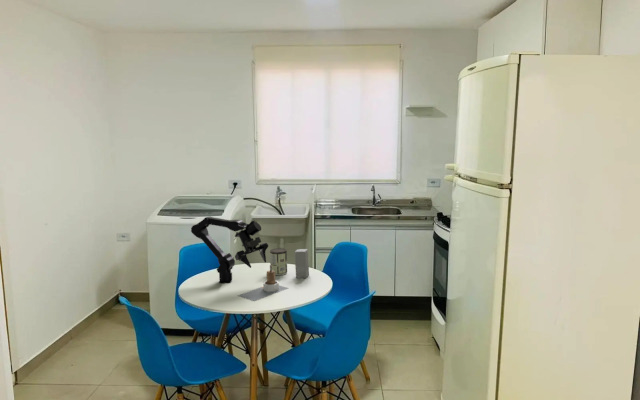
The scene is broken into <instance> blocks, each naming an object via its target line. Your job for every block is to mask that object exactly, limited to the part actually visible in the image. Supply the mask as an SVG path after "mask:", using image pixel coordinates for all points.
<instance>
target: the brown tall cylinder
mask: <svg viewBox="0 0 640 400" xmlns="http://www.w3.org/2000/svg"><path fill="white" fill-rule="evenodd" d="M266 281H267V284H268V285H274V284H275V281H276V275H275V271H272V265H269V270H267V271H266Z"/></svg>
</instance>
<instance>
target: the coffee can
mask: <svg viewBox="0 0 640 400" xmlns="http://www.w3.org/2000/svg"><path fill="white" fill-rule="evenodd" d="M287 251H288V249H286V248H282V247H281V248H280V247H279V248H272V249H269V259H270V260H269V263H270V265H272V271H275V276H283V275H286V274H288V258H287V255H288V253H287ZM270 265H269V266H270Z"/></svg>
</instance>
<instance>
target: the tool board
mask: <svg viewBox="0 0 640 400" xmlns="http://www.w3.org/2000/svg"><path fill="white" fill-rule="evenodd" d="M279 283H280V282H279V281H278V280H275V284H274V285H268V284H267V280H266V281H263V284H262V285H263V286H261V287H258V288H254V289H252V290H248V291H247V292H243V293H240V294H238V295H236V296H237V297H238V298H239V297H240V298H243V299H246V300H249V301H251V302H256V301H259V300H261V299H264V298H267V297H270V296H272V295H274V294H275V295H276V294H278V293H281V292H283V291H285V290H288V289H289V287H287V286H284V285H283V286H282V285H280V284H279Z"/></svg>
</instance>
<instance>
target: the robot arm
mask: <svg viewBox="0 0 640 400" xmlns="http://www.w3.org/2000/svg"><path fill="white" fill-rule="evenodd" d="M209 226H216V227H222V228H227V229H228V230H230V231H233V232H235V235H234V237H235V238H239V239H240V242H241V244H242V247H243V248H244V250H240V251H237V252H236V253H235V255H234V257H233V255H232V254H231V253H230V252H229V253H226V252H224V251H223V249H222V248H221V247H220V246H219V245H218V243H217V242H216V241H215V239H214V238H212V236H211V235H210V234H209V231H208V227H209ZM261 231H262V227H261V225H260V223H258V222H257V221H255V220H252V221H251V222H250V223H246V222H245V221H244V220H242V219H224V218H218V217H213V216H210V215H209V216H206V217H204V218H203V219H202V220H201V221H199V222H198V223H197V224H193V225H192V226H191V230H190V232H191V234H193V236H195V237H196V238H197V239H200V240H201V241H203V243H204V244H205V245H206V247H207V248H208V249H209V250H210V251H211V252H212V254H214V256H215V257H216V258H217V261H218V264H219V266H218V267H217V268H216V272H217V273H218V274H219V278H218V280H219V281H218V283H219V284H227V283H231V282H232V281H233V272H232V270H233V268H234V266H235V265H236V261H238V262H239V261H240V262H242V263H243V264H245V265H246V266H247V267H248V268H252V265H251V262H250V261H249V259H248V256H247V255H250V254H252V253H253V254H254V253H255V252H257V251H259V255H260V256H261V258H262V260H263V261H264V263H266V262H267V257H266V251H267V249H268V248H269V244H268V243H267V242H266V241H265V242H263V243H262V240H261V238H260V236H257V237H254V238H255V239H254V238H252V237H253V236H255V235H256V234H257V233H259V232H261ZM235 260H236V261H235Z"/></svg>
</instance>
